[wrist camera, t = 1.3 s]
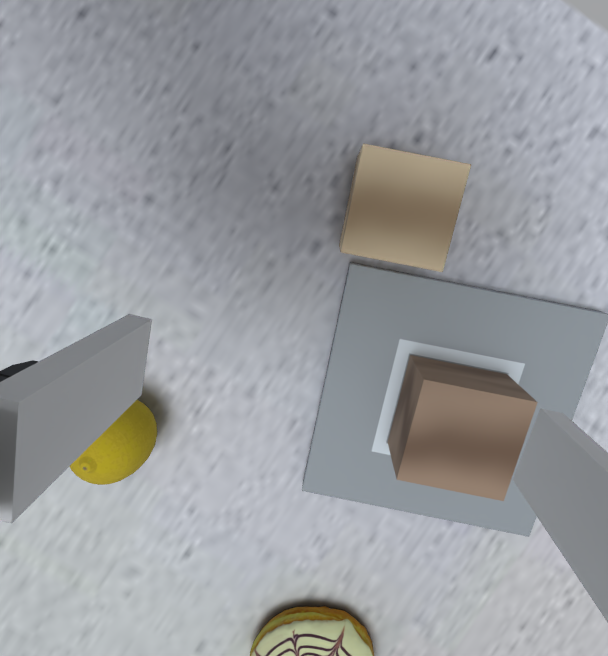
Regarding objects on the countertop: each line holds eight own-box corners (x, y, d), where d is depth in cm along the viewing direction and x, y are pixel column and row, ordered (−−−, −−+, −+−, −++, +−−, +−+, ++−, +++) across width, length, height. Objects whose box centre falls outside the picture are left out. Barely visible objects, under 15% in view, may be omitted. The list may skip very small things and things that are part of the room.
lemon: (90, 420, 37) (26, 475, 29) (125, 367, 35) (67, 411, 28) (148, 458, 37) (101, 522, 29) (184, 408, 36) (144, 461, 28)
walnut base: (410, 354, 33) (423, 379, 28) (506, 374, 32) (537, 402, 28) (387, 442, 34) (396, 479, 29) (479, 460, 34) (503, 501, 29)
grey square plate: (349, 262, 32) (350, 263, 31) (600, 311, 32) (610, 315, 31) (303, 482, 37) (302, 490, 36) (522, 526, 37) (529, 536, 36)
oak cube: (357, 156, 31) (363, 143, 25) (444, 173, 31) (471, 164, 25) (339, 245, 32) (340, 252, 26) (422, 261, 32) (442, 272, 26)
